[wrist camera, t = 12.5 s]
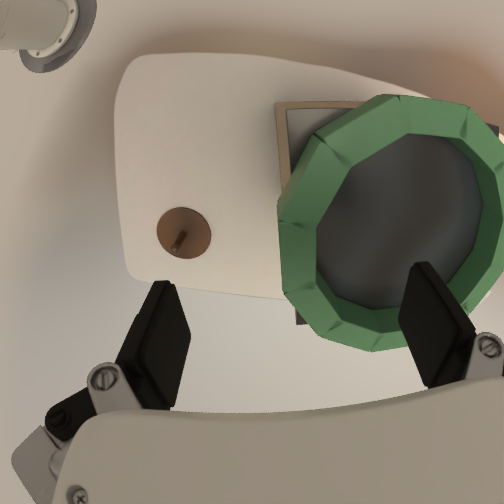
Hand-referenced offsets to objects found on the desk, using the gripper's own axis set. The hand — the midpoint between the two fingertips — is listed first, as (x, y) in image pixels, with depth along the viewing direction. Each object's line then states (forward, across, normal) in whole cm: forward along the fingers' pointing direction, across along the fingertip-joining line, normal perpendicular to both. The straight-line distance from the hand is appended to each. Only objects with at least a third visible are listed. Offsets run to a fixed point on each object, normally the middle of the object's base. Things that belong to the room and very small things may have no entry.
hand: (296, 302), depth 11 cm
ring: (+6, -8, 0) cm, 10 cm away
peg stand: (+32, +15, +12) cm, 38 cm away
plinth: (+32, -8, +1) cm, 33 cm away
